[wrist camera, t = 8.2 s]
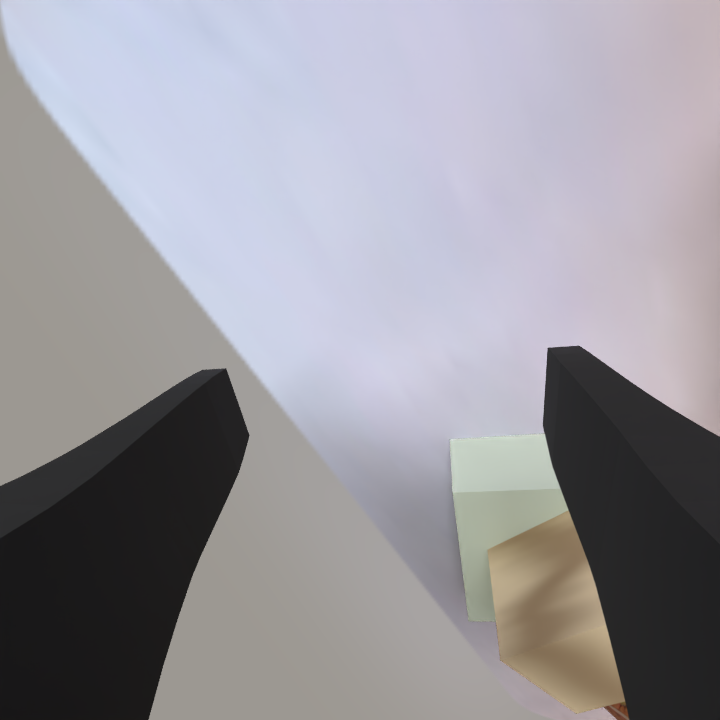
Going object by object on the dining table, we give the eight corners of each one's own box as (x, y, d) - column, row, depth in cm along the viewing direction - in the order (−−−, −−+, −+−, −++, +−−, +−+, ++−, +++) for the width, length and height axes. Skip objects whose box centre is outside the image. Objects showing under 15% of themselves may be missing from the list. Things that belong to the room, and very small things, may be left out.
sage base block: (663, 420, 22) (705, 483, 19) (640, 556, 27) (670, 625, 24) (449, 433, 24) (452, 492, 21) (464, 557, 29) (468, 621, 26)
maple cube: (580, 504, 20) (620, 619, 16) (644, 563, 22) (696, 683, 17) (487, 549, 22) (500, 660, 18) (550, 600, 24) (576, 713, 20)
